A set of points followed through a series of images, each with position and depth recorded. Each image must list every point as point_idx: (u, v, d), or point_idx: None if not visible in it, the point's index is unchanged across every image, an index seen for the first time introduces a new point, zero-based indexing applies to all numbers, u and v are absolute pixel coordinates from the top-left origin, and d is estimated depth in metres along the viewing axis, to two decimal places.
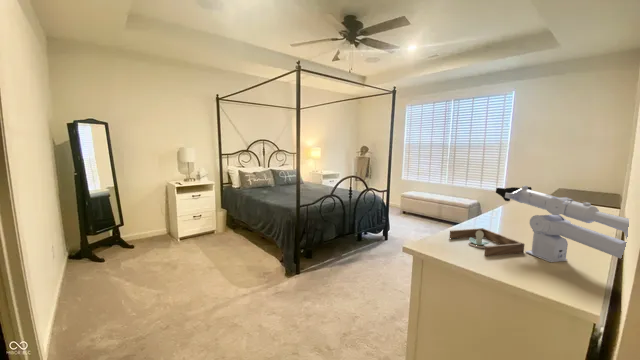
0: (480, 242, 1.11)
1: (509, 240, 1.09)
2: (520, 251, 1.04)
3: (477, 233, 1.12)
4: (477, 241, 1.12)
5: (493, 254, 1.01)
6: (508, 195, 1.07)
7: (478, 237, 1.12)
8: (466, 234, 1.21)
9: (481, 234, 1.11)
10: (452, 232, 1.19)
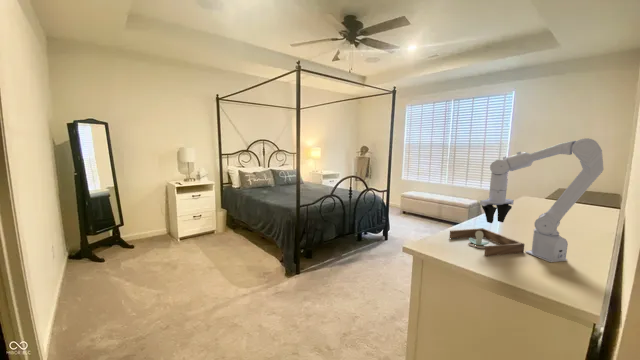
0: (480, 242, 1.11)
1: (509, 240, 1.09)
2: (520, 251, 1.04)
3: (477, 233, 1.12)
4: (477, 241, 1.12)
5: (493, 254, 1.01)
6: (481, 201, 1.10)
7: (478, 237, 1.11)
8: (466, 234, 1.21)
9: (481, 234, 1.11)
10: (452, 232, 1.19)
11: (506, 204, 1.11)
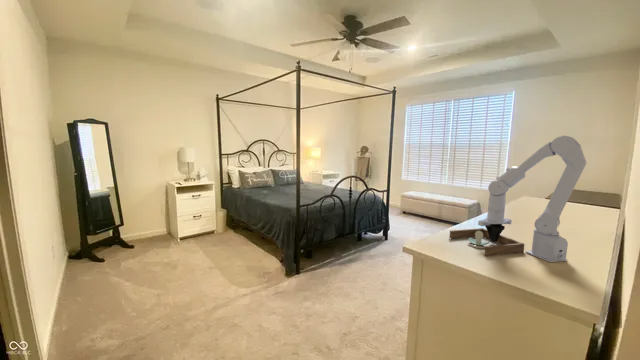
0: (479, 242, 1.11)
1: (509, 240, 1.09)
2: (520, 251, 1.04)
3: (476, 233, 1.12)
4: (476, 241, 1.12)
5: (493, 254, 1.01)
6: (479, 221, 1.11)
7: (477, 237, 1.11)
8: (466, 234, 1.21)
9: (480, 234, 1.11)
10: (452, 232, 1.19)
11: None
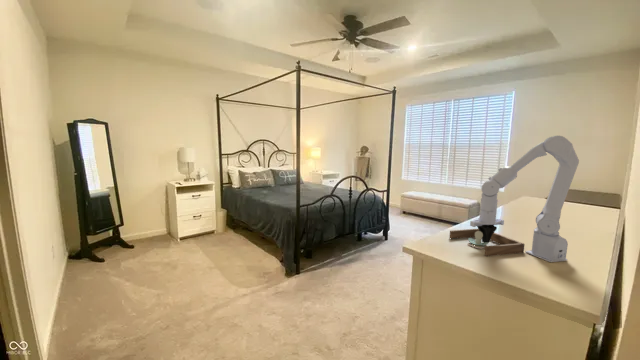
0: (479, 242, 1.11)
1: (509, 240, 1.09)
2: (520, 251, 1.04)
3: (476, 233, 1.12)
4: (476, 241, 1.12)
5: (493, 254, 1.01)
6: (471, 222, 1.10)
7: (477, 237, 1.11)
8: (466, 234, 1.21)
9: (480, 234, 1.10)
10: (452, 232, 1.19)
11: (496, 224, 1.12)
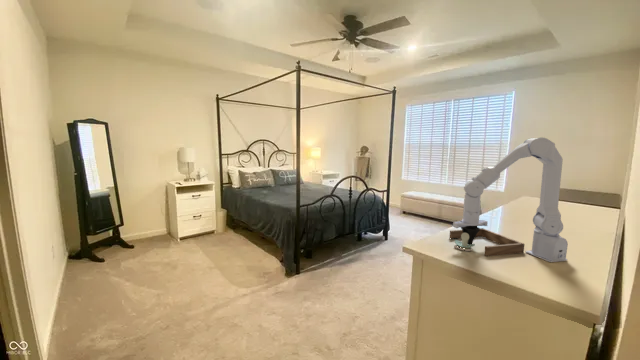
0: (466, 244, 1.08)
1: (509, 240, 1.09)
2: (520, 251, 1.04)
3: (462, 235, 1.09)
4: (463, 244, 1.09)
5: (493, 254, 1.01)
6: (454, 223, 1.08)
7: (464, 239, 1.08)
8: None
9: (467, 236, 1.08)
10: (452, 232, 1.19)
11: None
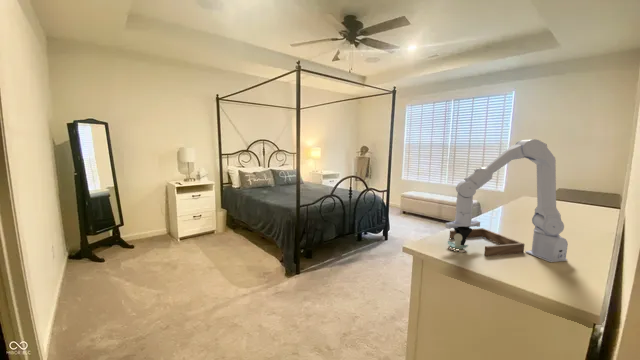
0: (459, 245, 1.07)
1: (509, 240, 1.09)
2: (520, 251, 1.04)
3: (456, 236, 1.08)
4: (456, 245, 1.08)
5: (493, 254, 1.01)
6: (446, 224, 1.07)
7: (457, 240, 1.07)
8: None
9: (460, 237, 1.07)
10: (452, 232, 1.19)
11: (472, 226, 1.09)
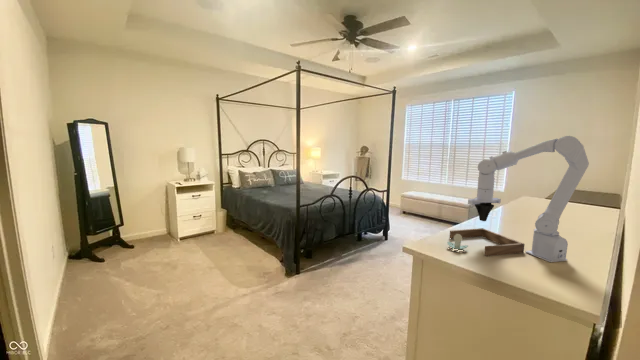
0: (459, 246, 1.07)
1: (509, 240, 1.09)
2: (520, 251, 1.04)
3: (455, 237, 1.07)
4: (456, 245, 1.07)
5: (493, 254, 1.01)
6: (469, 200, 1.12)
7: (457, 241, 1.07)
8: (466, 234, 1.21)
9: (460, 238, 1.06)
10: (452, 232, 1.19)
11: None
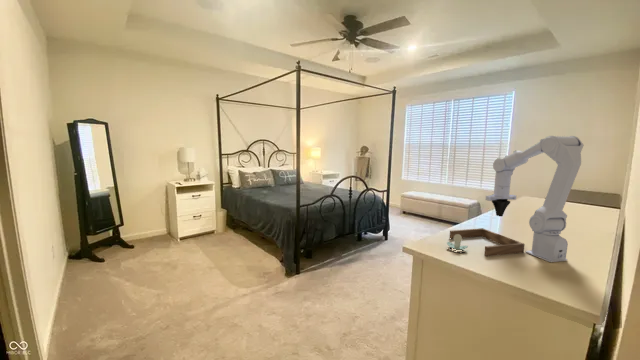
0: (458, 246, 1.06)
1: (509, 240, 1.09)
2: (520, 251, 1.04)
3: (455, 237, 1.07)
4: (455, 245, 1.07)
5: (493, 254, 1.01)
6: (487, 197, 1.20)
7: (456, 241, 1.07)
8: (466, 234, 1.21)
9: (459, 238, 1.06)
10: (452, 232, 1.19)
11: (509, 199, 1.21)
